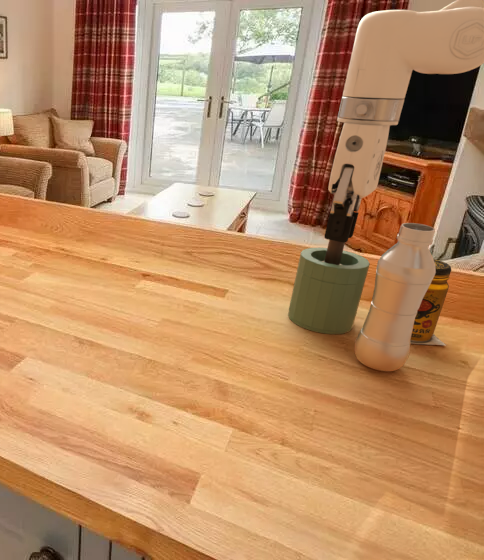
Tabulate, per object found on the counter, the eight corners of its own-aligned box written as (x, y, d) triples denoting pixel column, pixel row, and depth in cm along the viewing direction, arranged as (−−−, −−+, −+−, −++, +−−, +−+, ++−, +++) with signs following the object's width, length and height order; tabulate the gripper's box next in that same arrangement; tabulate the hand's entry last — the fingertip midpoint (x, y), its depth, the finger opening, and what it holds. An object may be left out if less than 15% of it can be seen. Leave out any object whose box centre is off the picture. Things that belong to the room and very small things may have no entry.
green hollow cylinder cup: (358, 318, 81) (375, 256, 77) (343, 340, 75) (361, 274, 70) (298, 302, 87) (311, 243, 83) (279, 321, 80) (292, 258, 76)
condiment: (394, 342, 74) (417, 269, 70) (370, 317, 82) (390, 249, 77) (446, 346, 73) (472, 272, 69) (417, 320, 81) (439, 252, 77)
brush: (339, 293, 79) (362, 202, 73) (333, 300, 77) (357, 206, 71) (315, 287, 81) (336, 198, 76) (309, 293, 79) (330, 202, 73)
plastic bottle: (410, 365, 68) (456, 228, 61) (393, 383, 64) (440, 238, 56) (361, 347, 73) (398, 216, 65) (342, 363, 69) (379, 225, 61)
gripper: (389, 116, 60) (352, 257, 67) (409, 111, 72) (376, 232, 79) (324, 112, 65) (296, 244, 72) (353, 108, 76) (326, 222, 83)
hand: (338, 237), depth 75 cm, fingers closed on brush, 2 cm apart
